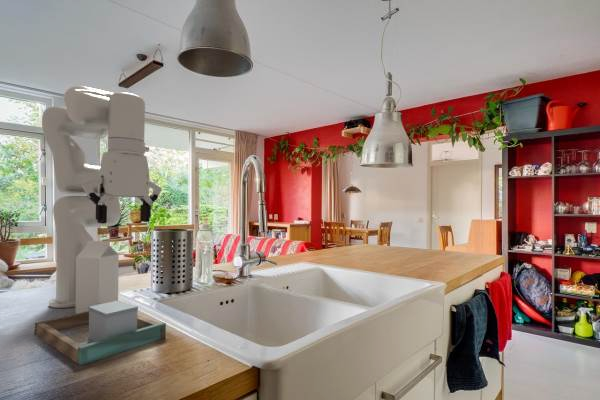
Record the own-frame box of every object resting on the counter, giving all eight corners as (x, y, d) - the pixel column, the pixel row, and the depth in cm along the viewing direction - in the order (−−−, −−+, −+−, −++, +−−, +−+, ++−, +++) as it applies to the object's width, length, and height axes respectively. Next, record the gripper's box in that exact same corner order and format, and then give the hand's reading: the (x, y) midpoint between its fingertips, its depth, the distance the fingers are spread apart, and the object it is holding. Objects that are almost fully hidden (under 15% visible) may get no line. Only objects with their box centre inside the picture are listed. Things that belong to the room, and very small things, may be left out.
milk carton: (98, 316, 88) (99, 242, 89) (75, 314, 90) (76, 242, 90) (118, 308, 95) (119, 240, 96) (96, 307, 96) (97, 239, 97)
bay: (34, 334, 76) (34, 320, 76) (112, 315, 89) (112, 303, 89) (80, 365, 60) (80, 348, 60) (165, 337, 73) (165, 323, 74)
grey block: (88, 341, 71) (88, 306, 71) (118, 332, 76) (119, 300, 76) (106, 351, 66) (106, 313, 66) (137, 341, 71) (137, 306, 71)
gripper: (153, 154, 88) (152, 220, 88) (77, 144, 75) (75, 222, 75) (169, 152, 84) (167, 222, 84) (91, 141, 70) (89, 225, 70)
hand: (124, 222), depth 79 cm, fingers open, 9 cm apart
